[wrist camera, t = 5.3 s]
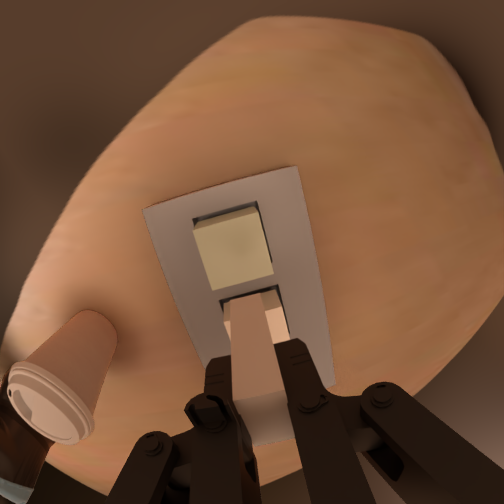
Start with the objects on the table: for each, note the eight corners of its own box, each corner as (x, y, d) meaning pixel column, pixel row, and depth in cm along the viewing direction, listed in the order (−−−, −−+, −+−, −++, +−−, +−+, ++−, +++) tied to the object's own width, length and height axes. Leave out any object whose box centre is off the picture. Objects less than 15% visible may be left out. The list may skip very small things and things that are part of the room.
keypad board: (226, 397, 33) (227, 413, 30) (150, 205, 26) (141, 209, 23) (328, 370, 33) (335, 384, 31) (289, 166, 26) (296, 165, 23)
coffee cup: (93, 284, 27) (20, 362, 13) (144, 346, 30) (108, 444, 16) (52, 318, 28) (-10, 388, 14) (98, 371, 31) (58, 453, 16)
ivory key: (238, 344, 27) (240, 365, 24) (223, 303, 26) (223, 322, 22) (285, 331, 27) (293, 351, 24) (275, 289, 26) (282, 306, 22)
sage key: (214, 274, 25) (212, 290, 22) (197, 222, 23) (192, 230, 20) (267, 259, 25) (274, 273, 22) (253, 206, 23) (258, 211, 20)
